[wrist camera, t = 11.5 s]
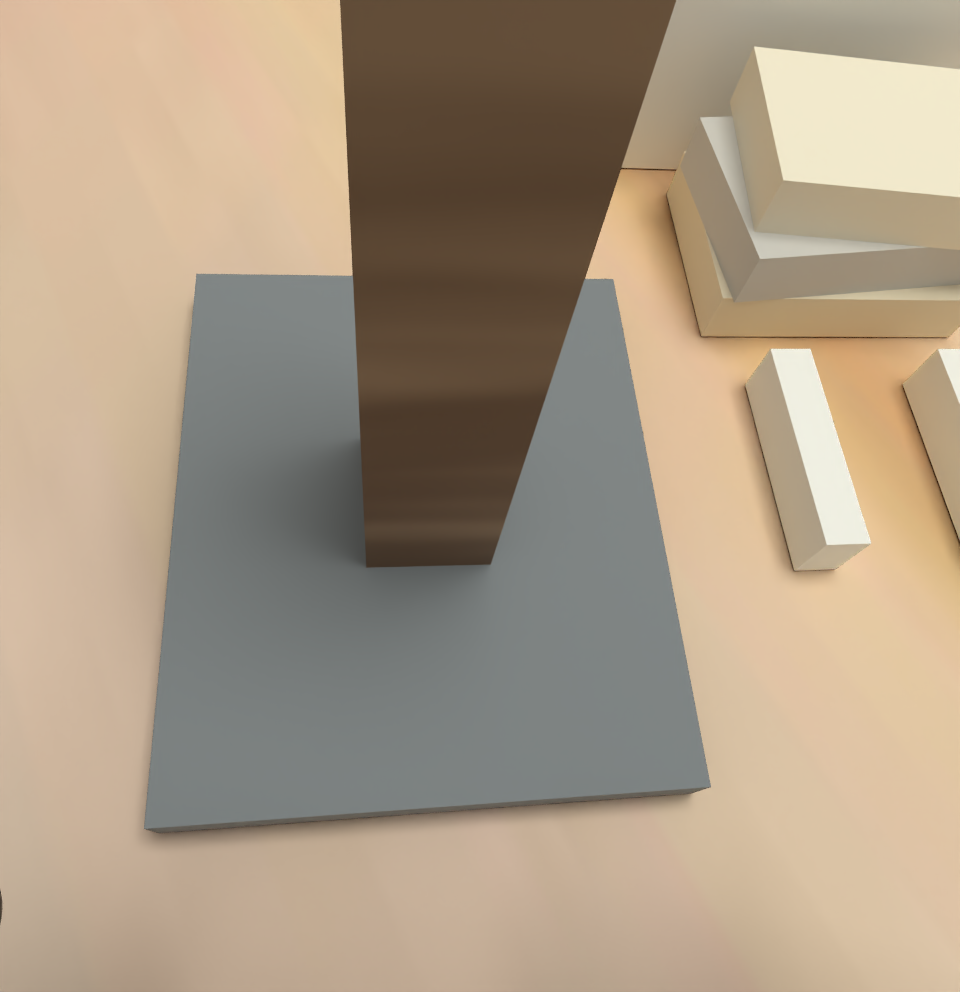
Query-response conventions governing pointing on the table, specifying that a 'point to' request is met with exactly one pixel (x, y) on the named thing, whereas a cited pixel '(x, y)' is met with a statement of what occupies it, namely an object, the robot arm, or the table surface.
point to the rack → (817, 217)
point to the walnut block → (474, 239)
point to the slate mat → (404, 595)
